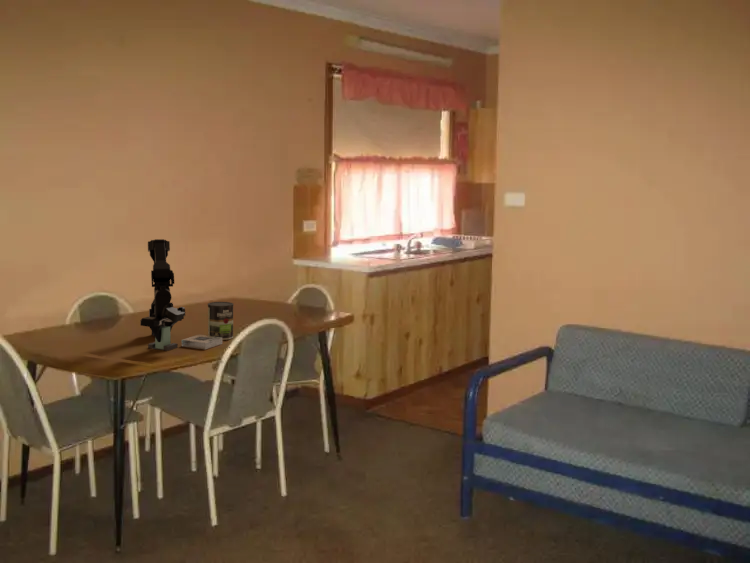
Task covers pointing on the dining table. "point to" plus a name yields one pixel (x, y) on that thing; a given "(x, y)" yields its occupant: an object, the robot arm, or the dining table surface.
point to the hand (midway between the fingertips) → (162, 340)
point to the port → (202, 341)
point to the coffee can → (220, 320)
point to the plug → (164, 337)
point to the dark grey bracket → (166, 348)
